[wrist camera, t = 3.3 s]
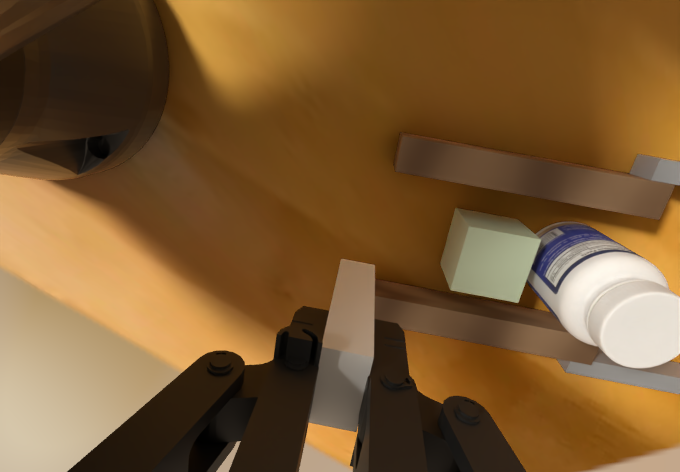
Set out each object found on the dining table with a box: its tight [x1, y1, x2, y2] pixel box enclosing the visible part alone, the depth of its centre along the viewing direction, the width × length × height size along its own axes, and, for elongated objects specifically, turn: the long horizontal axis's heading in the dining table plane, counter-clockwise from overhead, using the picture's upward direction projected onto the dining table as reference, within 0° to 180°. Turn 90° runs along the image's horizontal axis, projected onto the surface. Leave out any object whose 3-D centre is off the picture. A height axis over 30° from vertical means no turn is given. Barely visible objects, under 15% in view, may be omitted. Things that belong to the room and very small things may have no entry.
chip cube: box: [440, 208, 541, 303], centre depth 24 cm, size 4×4×4 cm
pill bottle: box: [526, 221, 680, 368], centre depth 22 cm, size 5×5×9 cm
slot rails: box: [374, 132, 675, 365], centre depth 25 cm, size 15×12×2 cm
